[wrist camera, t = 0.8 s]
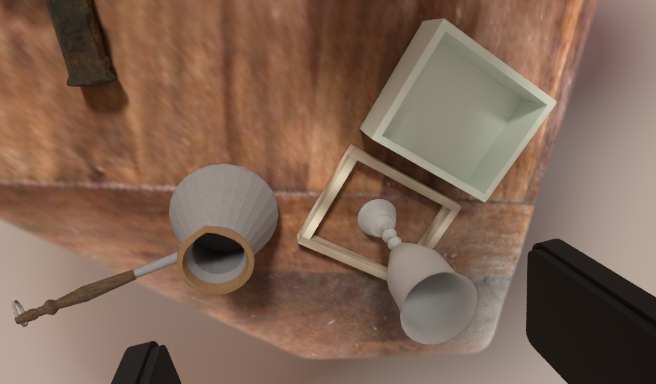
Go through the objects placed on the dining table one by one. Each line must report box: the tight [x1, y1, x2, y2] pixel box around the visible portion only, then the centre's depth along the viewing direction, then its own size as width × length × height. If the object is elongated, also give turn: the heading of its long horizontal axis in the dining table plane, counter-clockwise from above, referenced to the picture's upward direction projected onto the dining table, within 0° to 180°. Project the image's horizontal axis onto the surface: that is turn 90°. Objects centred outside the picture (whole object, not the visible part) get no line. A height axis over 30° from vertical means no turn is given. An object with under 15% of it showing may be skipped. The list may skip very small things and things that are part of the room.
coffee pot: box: [12, 164, 278, 327], centre depth 37 cm, size 21×12×15 cm, turn 99°
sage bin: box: [360, 18, 557, 202], centre depth 42 cm, size 13×16×5 cm
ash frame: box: [297, 144, 462, 281], centre depth 47 cm, size 13×16×2 cm
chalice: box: [358, 199, 478, 345], centre depth 40 cm, size 7×7×18 cm
